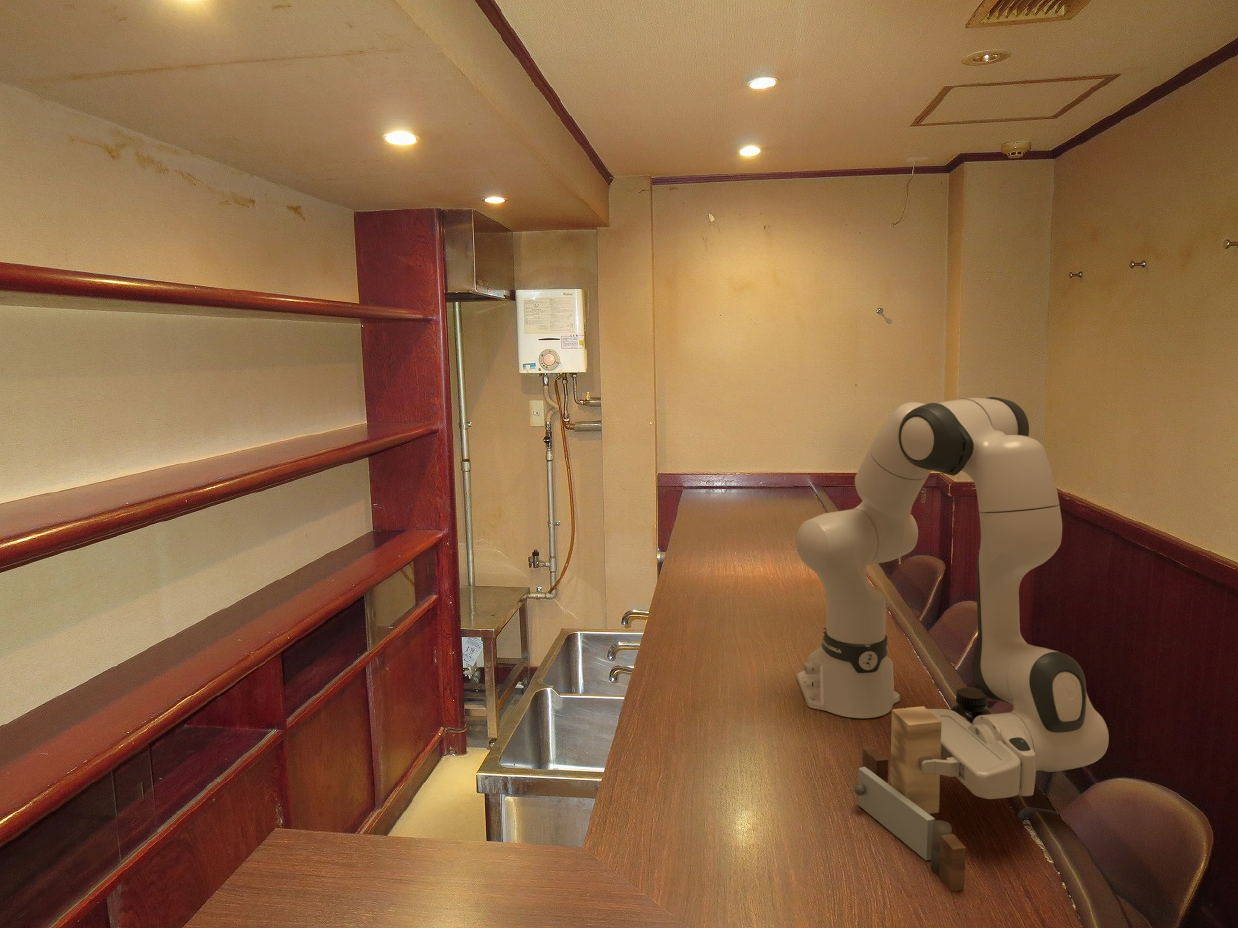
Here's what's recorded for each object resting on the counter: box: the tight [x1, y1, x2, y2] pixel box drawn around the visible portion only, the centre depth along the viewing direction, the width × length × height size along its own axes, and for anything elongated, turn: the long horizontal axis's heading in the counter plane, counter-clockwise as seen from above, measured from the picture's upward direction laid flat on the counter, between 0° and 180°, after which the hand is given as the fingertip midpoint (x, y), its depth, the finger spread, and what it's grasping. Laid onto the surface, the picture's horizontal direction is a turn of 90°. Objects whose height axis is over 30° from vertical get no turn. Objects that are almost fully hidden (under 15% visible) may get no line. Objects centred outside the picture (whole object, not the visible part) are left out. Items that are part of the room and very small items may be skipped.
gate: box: [853, 767, 936, 862], centre depth 119 cm, size 15×3×6 cm, turn 21°
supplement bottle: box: [949, 687, 993, 723], centre depth 138 cm, size 7×7×12 cm
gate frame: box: [862, 746, 967, 892], centre depth 119 cm, size 27×2×6 cm, turn 8°
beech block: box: [889, 705, 942, 815], centre depth 119 cm, size 5×5×14 cm
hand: (909, 754), depth 119 cm, fingers closed on beech block, 5 cm apart
